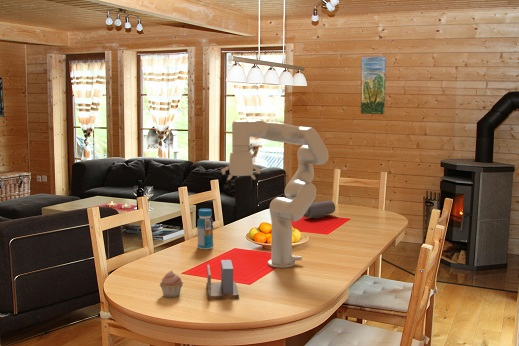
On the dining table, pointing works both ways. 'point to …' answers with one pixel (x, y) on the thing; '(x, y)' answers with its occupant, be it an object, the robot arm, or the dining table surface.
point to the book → (227, 276)
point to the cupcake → (171, 285)
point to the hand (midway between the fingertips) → (241, 188)
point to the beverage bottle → (205, 229)
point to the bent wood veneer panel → (219, 289)
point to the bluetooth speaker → (320, 209)
